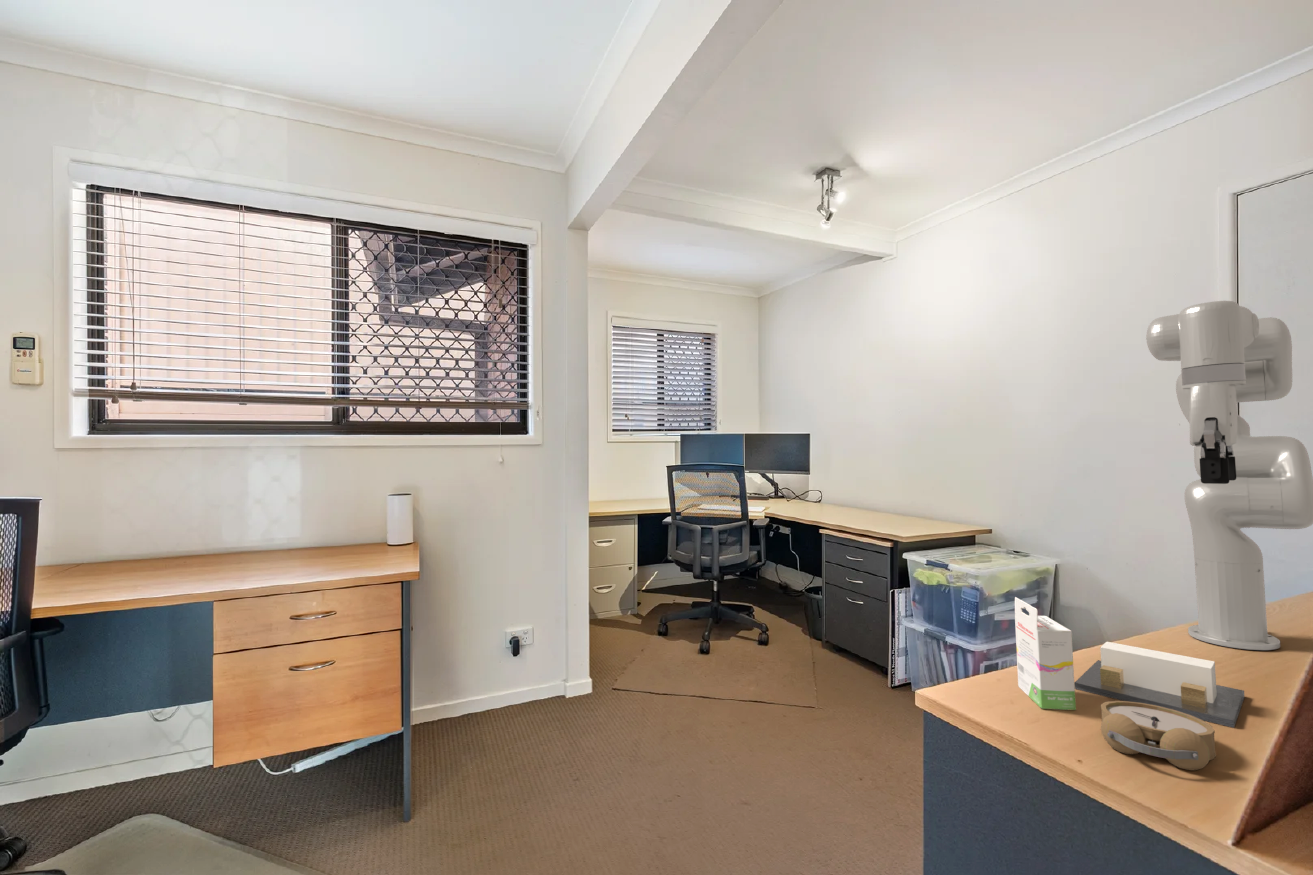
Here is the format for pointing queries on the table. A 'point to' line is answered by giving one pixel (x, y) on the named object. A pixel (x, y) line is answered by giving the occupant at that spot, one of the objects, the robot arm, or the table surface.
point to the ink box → (1044, 659)
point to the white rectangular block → (1159, 669)
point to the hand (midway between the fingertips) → (1219, 481)
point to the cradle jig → (1165, 695)
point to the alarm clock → (1158, 733)
